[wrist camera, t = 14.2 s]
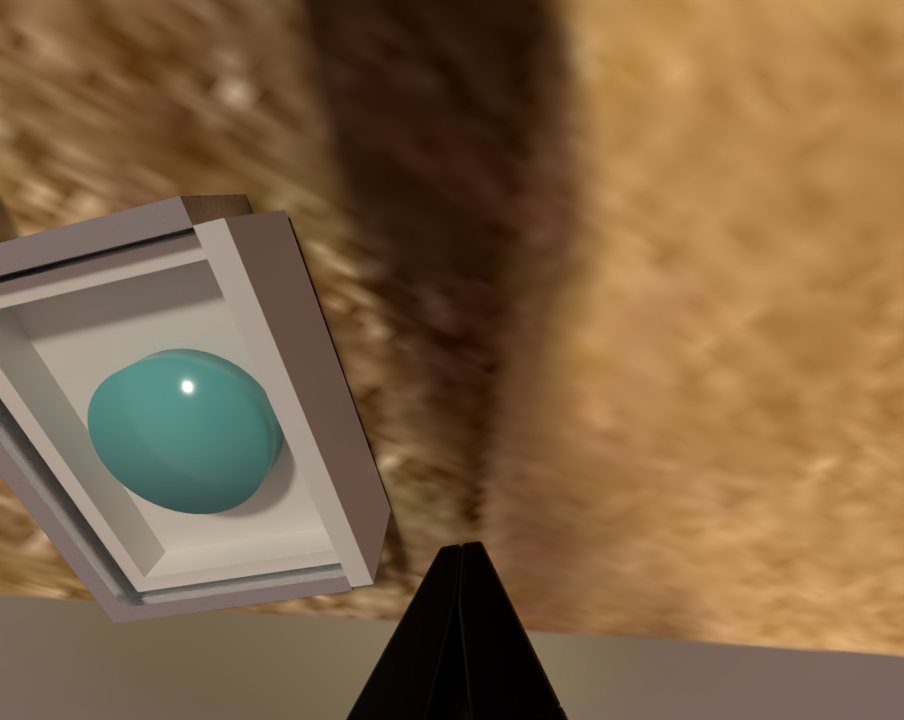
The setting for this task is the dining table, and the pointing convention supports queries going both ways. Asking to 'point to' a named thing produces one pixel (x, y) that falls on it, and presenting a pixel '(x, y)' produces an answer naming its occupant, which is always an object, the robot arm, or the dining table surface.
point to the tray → (230, 337)
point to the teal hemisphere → (185, 431)
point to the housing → (39, 489)
